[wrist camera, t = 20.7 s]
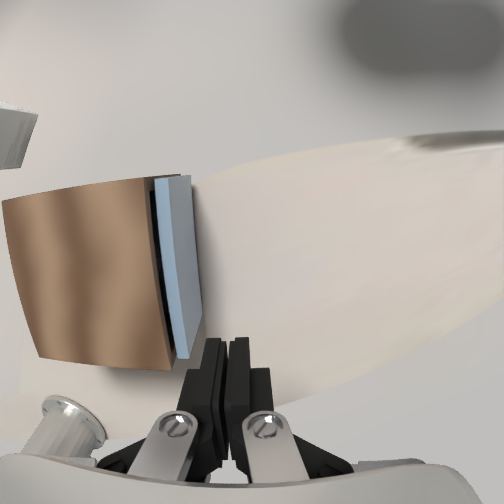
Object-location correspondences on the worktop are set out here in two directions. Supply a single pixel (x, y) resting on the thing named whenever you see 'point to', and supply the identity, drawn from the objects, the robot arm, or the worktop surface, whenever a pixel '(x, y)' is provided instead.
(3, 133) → the supplement box
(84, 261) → the tan storage bin
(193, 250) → the tray
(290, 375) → the worktop surface
